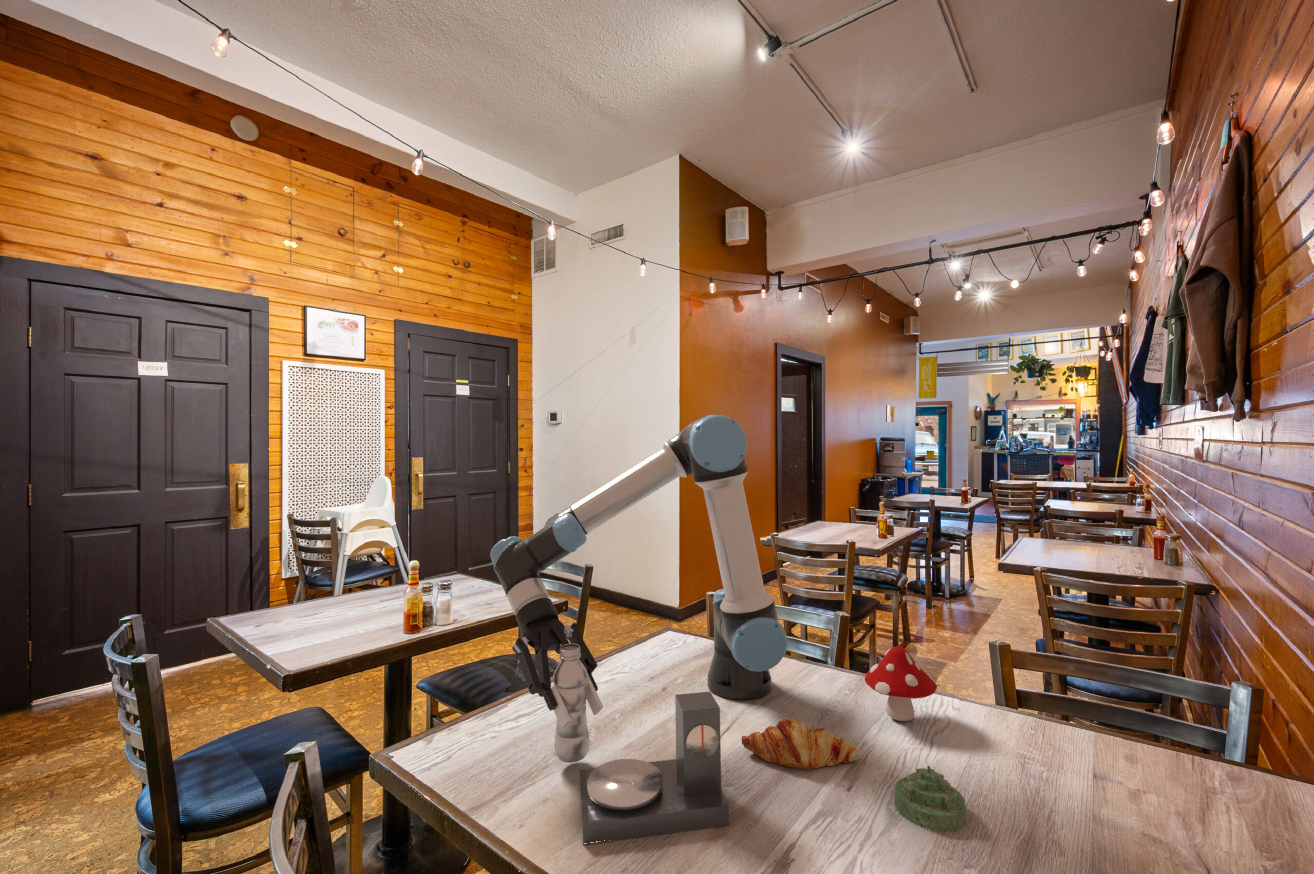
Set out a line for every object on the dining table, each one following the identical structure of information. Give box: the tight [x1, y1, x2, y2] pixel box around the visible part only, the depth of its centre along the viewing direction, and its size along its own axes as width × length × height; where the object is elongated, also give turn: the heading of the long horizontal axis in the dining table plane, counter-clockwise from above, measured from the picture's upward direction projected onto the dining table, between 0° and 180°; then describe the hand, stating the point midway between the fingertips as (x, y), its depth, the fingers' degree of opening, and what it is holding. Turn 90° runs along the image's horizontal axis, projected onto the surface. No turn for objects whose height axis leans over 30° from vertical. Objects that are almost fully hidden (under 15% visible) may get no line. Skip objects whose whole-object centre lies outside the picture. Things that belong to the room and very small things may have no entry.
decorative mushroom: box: [864, 646, 938, 722], centre depth 119 cm, size 14×14×15 cm
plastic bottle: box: [552, 643, 591, 764], centre depth 104 cm, size 6×7×20 cm
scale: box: [578, 691, 730, 845], centre depth 92 cm, size 22×14×16 cm, turn 100°
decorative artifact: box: [894, 765, 967, 833], centre depth 90 cm, size 10×7×10 cm
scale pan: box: [587, 758, 663, 810], centre depth 91 cm, size 12×12×1 cm
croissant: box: [741, 718, 861, 770], centre depth 105 cm, size 21×10×8 cm, turn 82°
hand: (582, 717), depth 101 cm, fingers closed on plastic bottle, 6 cm apart
